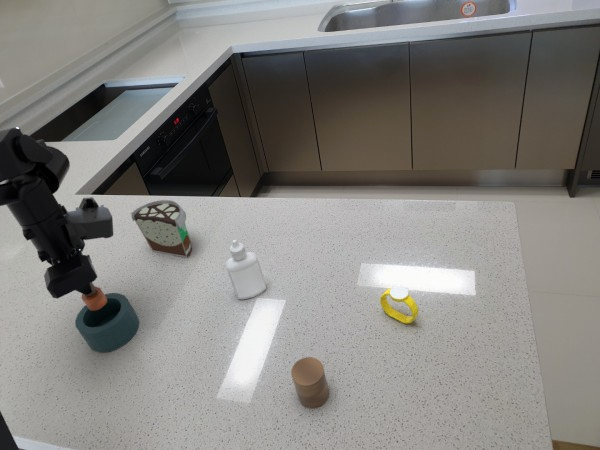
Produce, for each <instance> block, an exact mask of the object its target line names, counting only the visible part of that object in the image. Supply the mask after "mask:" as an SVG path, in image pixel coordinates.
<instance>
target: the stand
mask: <svg viewBox="0 0 600 450" xmlns="http://www.w3.org/2000/svg"><path fill="white" fill-rule="evenodd" d="M291 378H292V382H293V385H294V388H295V392H296V394H297V398H298V400H299V403H300V404H301V405H302V406H304V407H305V408H308V409H317V408H320V407H322V406H323V405H324V404H325V403H326V402H327V401H328V399H329V396H330V390H329V385H328V381H327V377H326V373H325V368H324V365H323V363H322V361H320V360H319V359H318V358H316V357H312V356H307V357H306V356H305V357H303V358H300V359H298V360H297V361H296V362H294V364H293V365H292V368H291Z"/></svg>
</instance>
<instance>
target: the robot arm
mask: <svg viewBox="0 0 600 450" xmlns="http://www.w3.org/2000/svg"><path fill="white" fill-rule="evenodd" d="M70 163H71V161H70V159H69V157H68V155H67V154H66V153H64V152H63V151H61V149H58V148H57V147H54V146H49V145H47V143H46V142H45V140H44V139H38V140H36V139H34V138H33V137H32V136H30V135H28V134H26V133H23V132H22V130H21V129H20V128H19V127H16V126H15V127H9V128H5V129H0V207H3V206H6V207H7V209H8V211H10V213H11V214H12V216H13V217H14V219H15V220H16V221H17V223H18V225H19V226H20V228H21V230H22V236H23V237H24V238H25V240H26V241H27V242H28V241H30V242H31V244H32V245H33V247H34V248H35V249H36V253H37V256H38V259H39V260H40V261H41V263H43V262H46V263H48V264H49V265H50V266H49V267H47V268H46V270H45V272H44V275H43V277H44V278H43V279H44V282H45V288H46V291H48V293H49V294H50V295H51V297H52V299H60V298H62V297H64V296H66V295H68V294H71V293H72V292H74V291H76V292H78V293H80V294H81V295H82V294H84V295H88V294H90V293H92V289H91V286H90V283H91V282H92V283H93V282H95V281H96V279H97V278H98V275H97V271H96V269H95V267H94V265H93V261H92V259H91V256H90V254H86V255H85V254H83V251H84V249H85V246H86V243H85V241H90V240H97V239H102V238H103V239H110V238H112V237H113V236H114V222H113V221H114V220H113V215H112V213H111V211H110V210H109V208H108V206H105V205H104V204H100V205H99V203H98V202H97V201H96V200H95V198H94V197H93V196H89V197H83V198H82V199H81V202H80V203H79V206H77V207H75V210H71V211H70V210H69V211H68V210H67V208H66V206H65V205H64V204H63V205H62V204H61V203H59V202H58V200H57V199H56V197H55V196H54V195H55V193H56V192H58V190H59V188H60V187H61V185H62V184H63V181H64V179H65V178H66V176H67V174H68V172H69V170H70V168H71V166H70V165H71V164H70ZM0 450H20V448H19V446H18V444H17V442H16V440H15V438H14V436H13V434H12V432H11V430H10V428H9V426H8V424H7V422H6V420H5V418H4V416H3V413H2V412H1V410H0Z"/></svg>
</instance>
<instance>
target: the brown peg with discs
mask: <svg viewBox="0 0 600 450" xmlns="http://www.w3.org/2000/svg"><path fill="white" fill-rule="evenodd" d="M90 286H91V289H92V293H90V294H88V295H84V294H82V293H81V300H82V301H83V304H85V305H86V306H87V307H88V309H89V310H91V311H95V310H98V309H100V308H102V307H103V306H104V305H105V304H106V303H107V298H106V296H105V295H104V294H105V293H104V291H103V290H102V288H101V287H100V286H97V285H96V286H95V285H94V283H93V282H91V283H90Z"/></svg>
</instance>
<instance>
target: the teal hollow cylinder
mask: <svg viewBox="0 0 600 450" xmlns="http://www.w3.org/2000/svg"><path fill="white" fill-rule="evenodd" d="M104 295H105V296H106V298H107V303H106V304H105V305H104V306H103V307H102V308H100V309H98V310H95V311H91V310H89V309H88V307H87V306H86V304H85V305H84V306H83V307H82V308H81V309H80V310H79V312H78V313H77V315H76V318H75V328H76V330H77V331H78V332H79V334H80V336H82V338H83V340H84V341H85V342H86V344H87V345H88V346H89V348H90V349H91V350H93V351H94V352H97V353H108V352H113V351H115V350H116V351H117V350H119V348H121V347H123V346H125V345H126V344H128V343H129V342H130V341H131V340H132V339H133V338H134V336H135V335H136V334H137V332H138V330H139V328H140V319H139V317H138V314H137V312H136V311H135V309H134V308H133V305H132V304H131V302H130V301H129V299H128V298H127V296H126V295H124V294H122V293H120V292H110V293H104Z"/></svg>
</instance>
